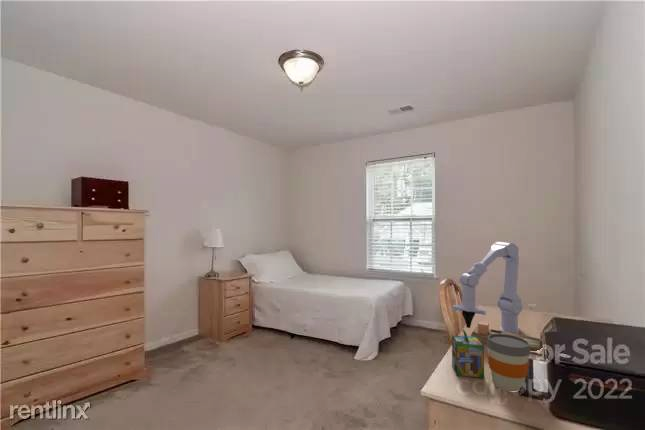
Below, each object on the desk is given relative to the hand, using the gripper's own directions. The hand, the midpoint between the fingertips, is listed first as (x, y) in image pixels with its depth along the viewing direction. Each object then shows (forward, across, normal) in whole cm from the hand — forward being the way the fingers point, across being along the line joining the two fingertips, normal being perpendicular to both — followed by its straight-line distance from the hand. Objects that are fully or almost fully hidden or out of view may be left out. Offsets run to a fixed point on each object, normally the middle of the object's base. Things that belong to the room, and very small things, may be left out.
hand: (468, 327), depth 152 cm
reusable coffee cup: (+4, +20, -42) cm, 47 cm away
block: (+1, +6, 0) cm, 6 cm away
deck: (+3, +15, 0) cm, 16 cm away
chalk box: (+4, +7, -40) cm, 41 cm away
